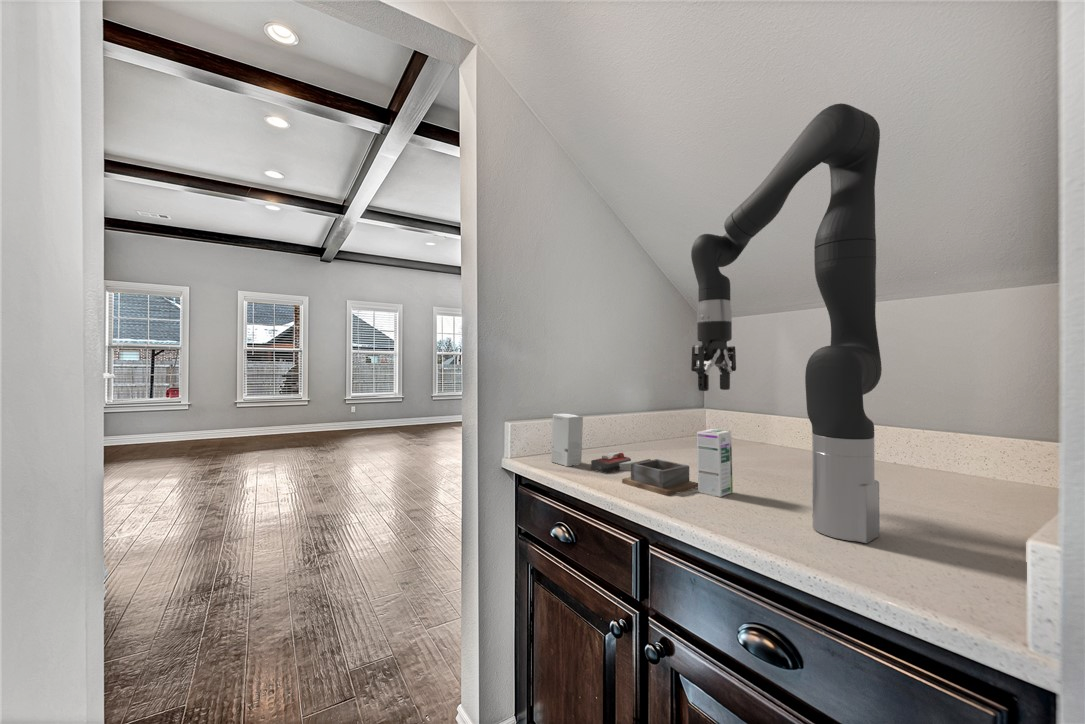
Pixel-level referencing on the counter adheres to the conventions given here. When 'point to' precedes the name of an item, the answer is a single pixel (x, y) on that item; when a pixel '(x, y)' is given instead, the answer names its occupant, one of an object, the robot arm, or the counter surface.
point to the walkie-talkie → (613, 463)
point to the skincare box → (566, 439)
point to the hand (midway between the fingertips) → (714, 390)
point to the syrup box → (714, 462)
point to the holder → (660, 477)
